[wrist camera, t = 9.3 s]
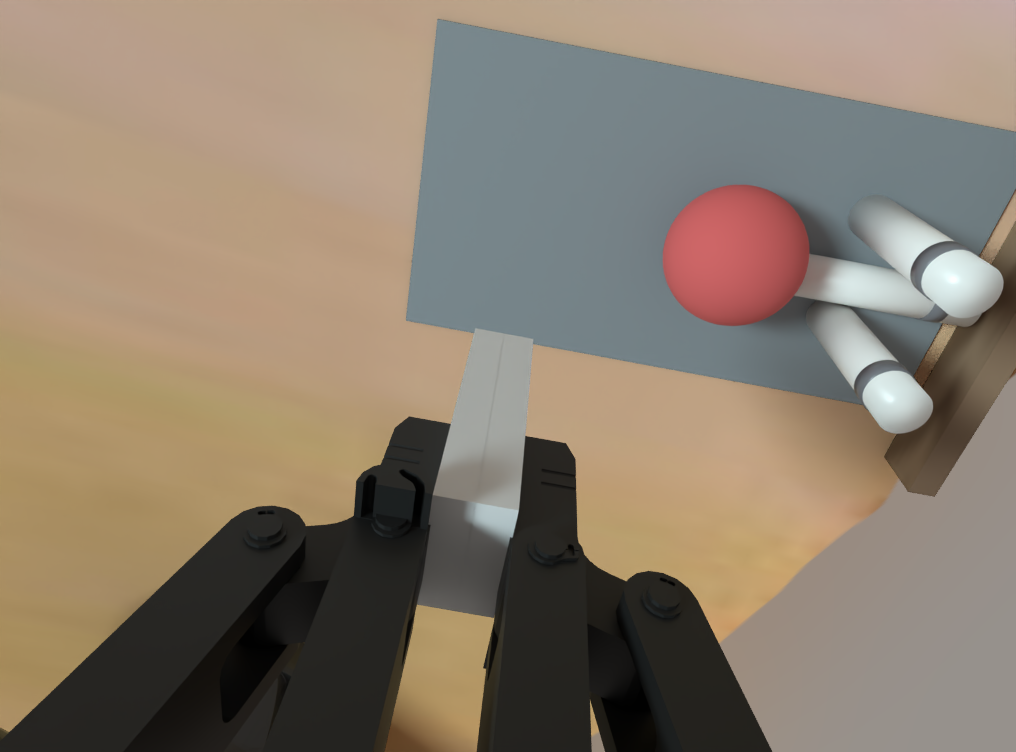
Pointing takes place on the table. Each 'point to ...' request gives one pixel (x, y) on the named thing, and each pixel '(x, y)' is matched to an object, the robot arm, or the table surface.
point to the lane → (662, 200)
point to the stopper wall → (961, 387)
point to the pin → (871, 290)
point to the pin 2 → (870, 368)
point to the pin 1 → (927, 257)
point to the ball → (736, 255)
